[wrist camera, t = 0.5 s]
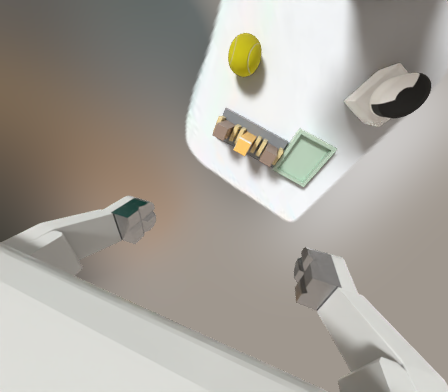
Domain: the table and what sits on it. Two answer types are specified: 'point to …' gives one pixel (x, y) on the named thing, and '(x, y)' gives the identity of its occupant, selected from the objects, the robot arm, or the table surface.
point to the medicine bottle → (389, 95)
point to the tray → (303, 157)
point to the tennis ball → (244, 55)
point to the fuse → (244, 143)
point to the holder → (238, 125)
